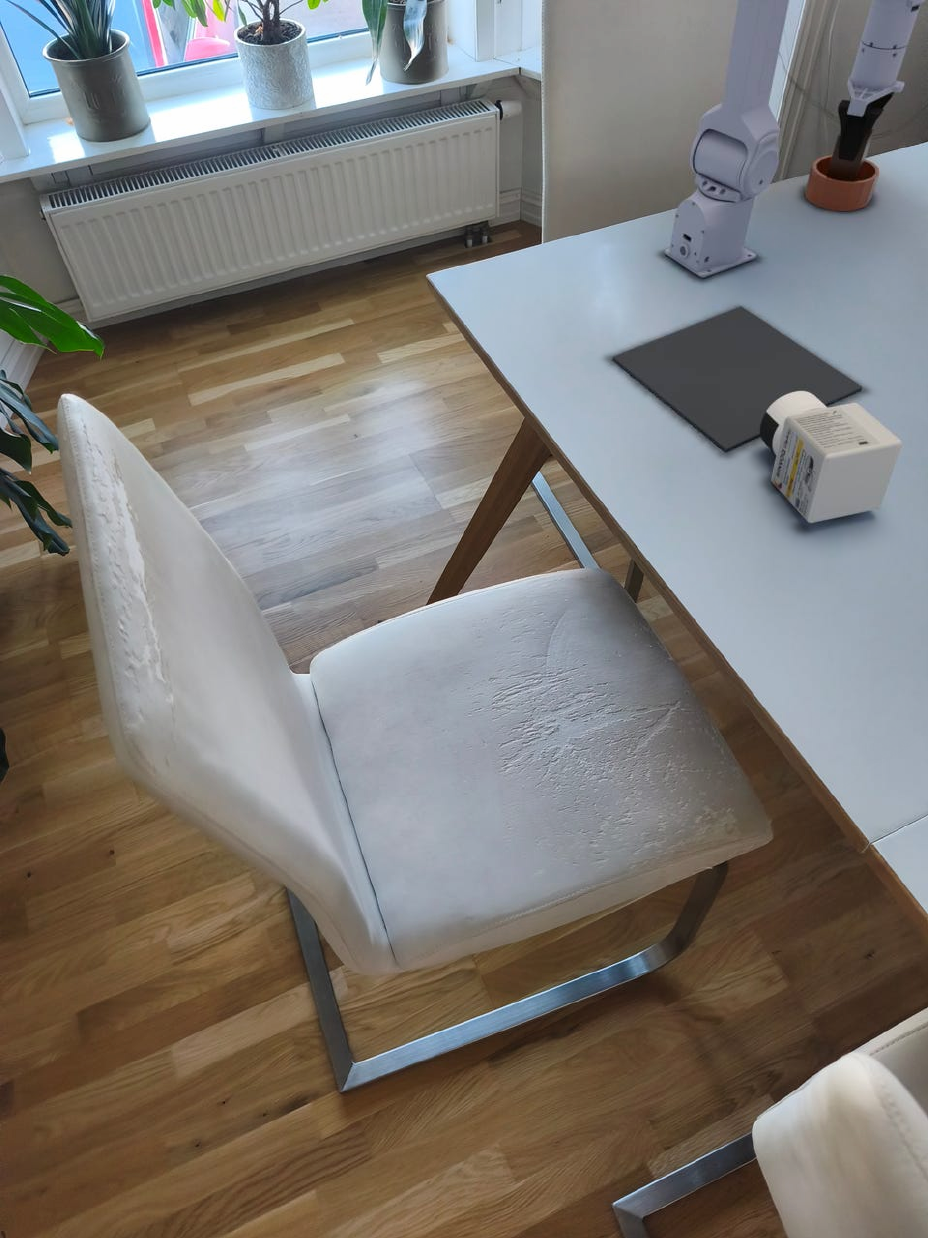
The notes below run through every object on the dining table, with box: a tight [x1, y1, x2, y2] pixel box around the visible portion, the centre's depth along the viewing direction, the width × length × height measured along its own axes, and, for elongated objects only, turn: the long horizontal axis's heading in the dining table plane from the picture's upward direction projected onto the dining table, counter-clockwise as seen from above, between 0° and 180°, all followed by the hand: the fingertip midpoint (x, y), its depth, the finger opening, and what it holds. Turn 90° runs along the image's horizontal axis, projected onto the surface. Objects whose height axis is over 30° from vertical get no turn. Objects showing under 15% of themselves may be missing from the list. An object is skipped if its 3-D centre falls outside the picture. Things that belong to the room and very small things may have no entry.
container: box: [759, 391, 903, 524], centre depth 84 cm, size 8×8×13 cm
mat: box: [611, 306, 863, 452], centre depth 99 cm, size 20×20×1 cm
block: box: [827, 128, 875, 182], centre depth 121 cm, size 4×4×7 cm
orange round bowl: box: [804, 154, 880, 212], centre depth 123 cm, size 9×9×4 cm
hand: (850, 152), depth 120 cm, fingers closed on block, 4 cm apart
